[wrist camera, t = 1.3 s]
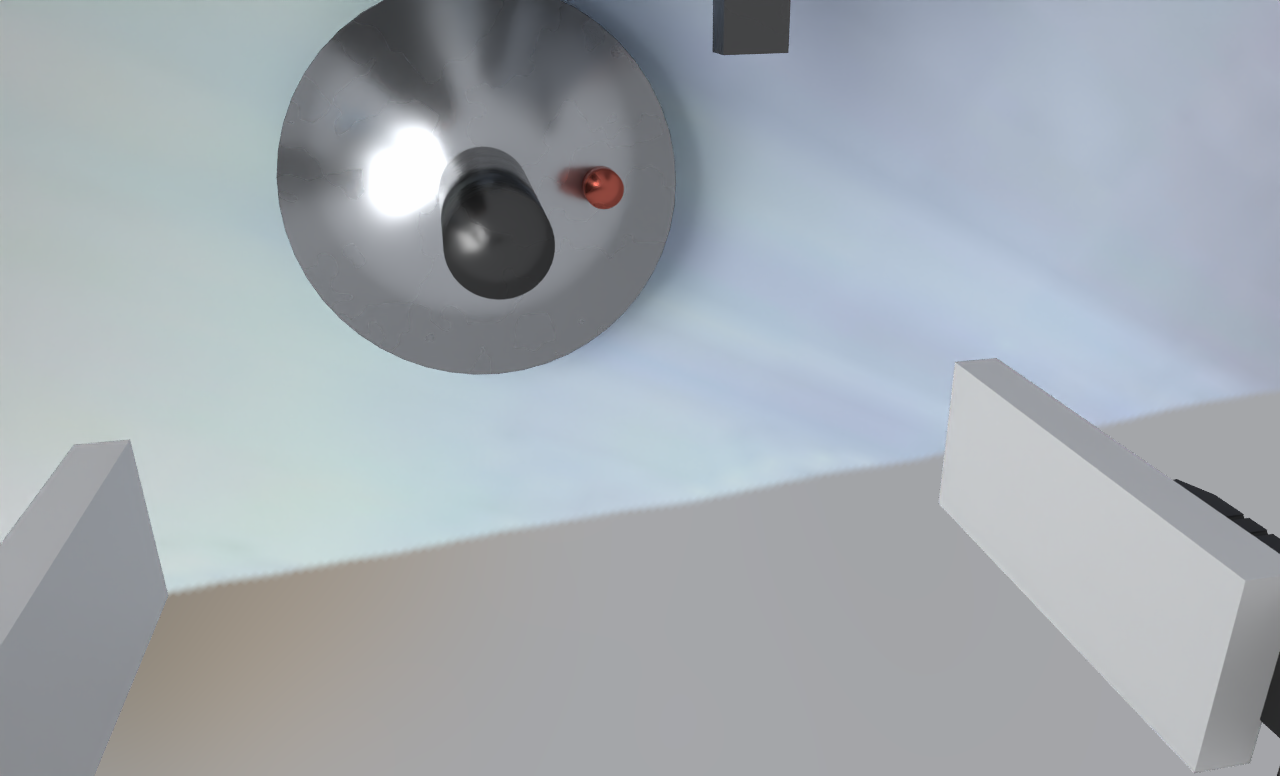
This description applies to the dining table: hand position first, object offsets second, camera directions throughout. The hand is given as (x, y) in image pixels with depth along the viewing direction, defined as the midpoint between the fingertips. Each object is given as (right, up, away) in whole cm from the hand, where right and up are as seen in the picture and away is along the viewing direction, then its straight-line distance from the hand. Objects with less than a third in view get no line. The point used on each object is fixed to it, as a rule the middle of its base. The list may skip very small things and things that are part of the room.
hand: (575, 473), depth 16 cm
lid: (-5, +9, +22) cm, 24 cm away
